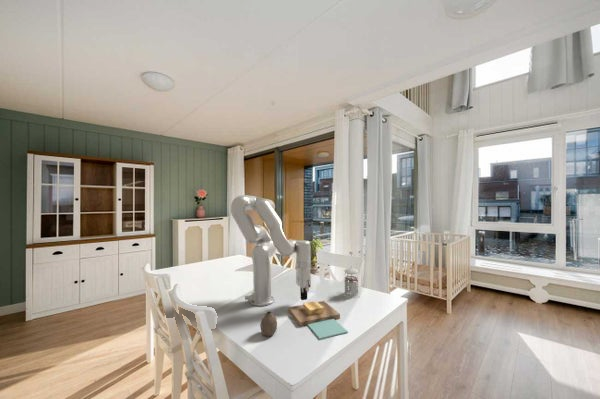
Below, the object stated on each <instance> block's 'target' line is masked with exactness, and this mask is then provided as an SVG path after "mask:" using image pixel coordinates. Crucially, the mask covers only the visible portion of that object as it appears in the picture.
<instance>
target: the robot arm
mask: <svg viewBox="0 0 600 399" xmlns="http://www.w3.org/2000/svg"><path fill="white" fill-rule="evenodd" d="M275 209H276V205H275V202H274V201H273V200H271V199H269V198H264V197H259V196H255V195H249V194H248V195H247V194H240V195H238V196H236V197H235V198H233V200H232V201H231V204H230V213H231V216H232V218H233V220H234V221H235V223H236V225H237V227H238V228H239V230H240V232H241V233H242V234H241V235H242V236H243V237H244V239H245V241H246V243H248V244H252V245H253V244H256V245H255V246H254V247H253V249H252V251H251V260H252V270H253V273H252V274H253V278H252V279H253V292H252V293H251V294H250V295H244V300H246V301H248V302H249V301H250V303H251V305H253V306H256V307H266V306H269V305H271V304H273V303H274V301H275V297H274V296H272V268H271V267H272V266H271V261H270V259H271V257H273V256H274V255H275V253H276V251H278V253H279V254H280V255H281V256H282V257H284V258H285V257H290V256H292V255H293V254H296V260H295V261H296V264H295V265H296V266H295V267H296V269H295V270H296V272H295V284H296V285H297V286H299V290H300V300H301V301H306V300H308V292H309V291H310V288H311V285H312V279H311V278H312V275H311V266H312V262H311V260H312V259H311V255H312V254H311V252H312V251H311V250H312V249H311V242H310V241H309V240H307V239H306V240H305V239H304V240H298V239H292V238H290V239H287V238H286V235H285V233H284V232H283V227H282V225H283V222H282V220H281V217H280V216H279V215H278V213H277V212H276V210H275ZM248 211H254V212H256V213H257V214H258V216H259V218H260V219H261V221H262V222H263V224H264V226H265V227H264V226H263V225H260V224H256V223H255V222H254V220H253V218H252V216H251V215H250V214H249V213H248Z"/></svg>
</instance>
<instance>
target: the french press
mask: <svg viewBox="0 0 600 399" xmlns="http://www.w3.org/2000/svg"><path fill="white" fill-rule="evenodd" d="M352 254H354V253H353V251H349V255H352ZM343 271H344V275H346V274H347V275H346V276H344V292H343V293H342V295H343V296H344V297H346V298H349V299H355V298H359V297H361V294H360V293H359V279H358V277H357V276H354V274H358V273H359V270H358V269H356V268H353V267H349V268H346V269H344V270H343Z"/></svg>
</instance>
